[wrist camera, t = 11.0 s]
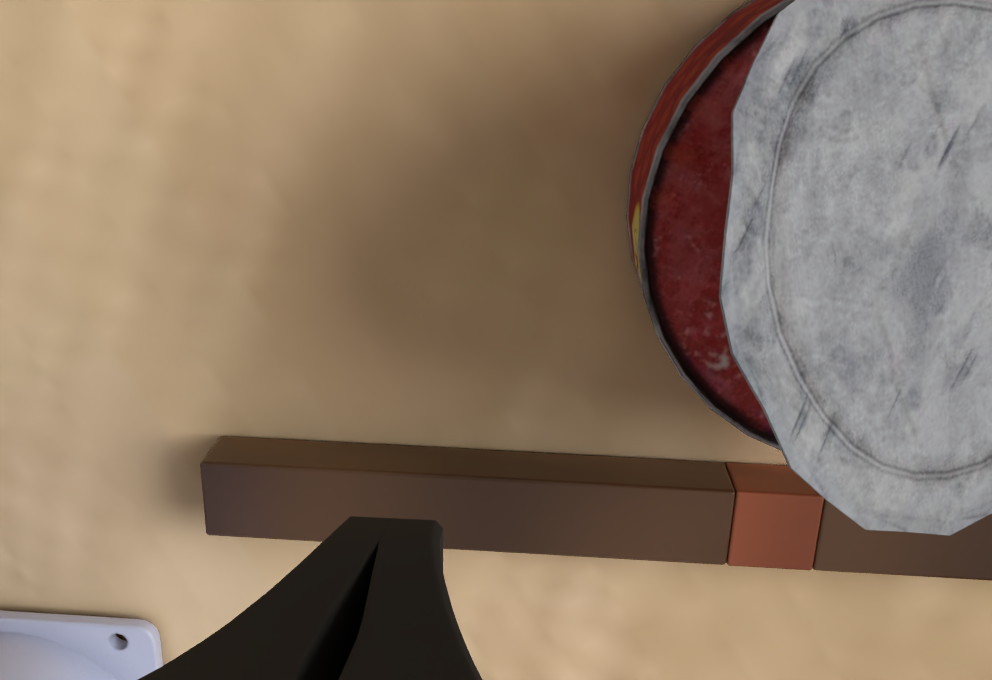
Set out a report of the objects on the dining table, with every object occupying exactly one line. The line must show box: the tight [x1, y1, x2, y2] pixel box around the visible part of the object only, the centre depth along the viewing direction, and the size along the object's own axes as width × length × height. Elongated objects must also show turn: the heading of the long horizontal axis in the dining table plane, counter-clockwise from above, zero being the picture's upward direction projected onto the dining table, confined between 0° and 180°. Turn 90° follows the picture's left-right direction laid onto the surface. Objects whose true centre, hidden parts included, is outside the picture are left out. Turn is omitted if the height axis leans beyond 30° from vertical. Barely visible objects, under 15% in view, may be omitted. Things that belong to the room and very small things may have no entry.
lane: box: [200, 436, 992, 580], centre depth 20 cm, size 22×17×2 cm
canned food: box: [626, 0, 992, 536], centre depth 17 cm, size 11×10×10 cm
